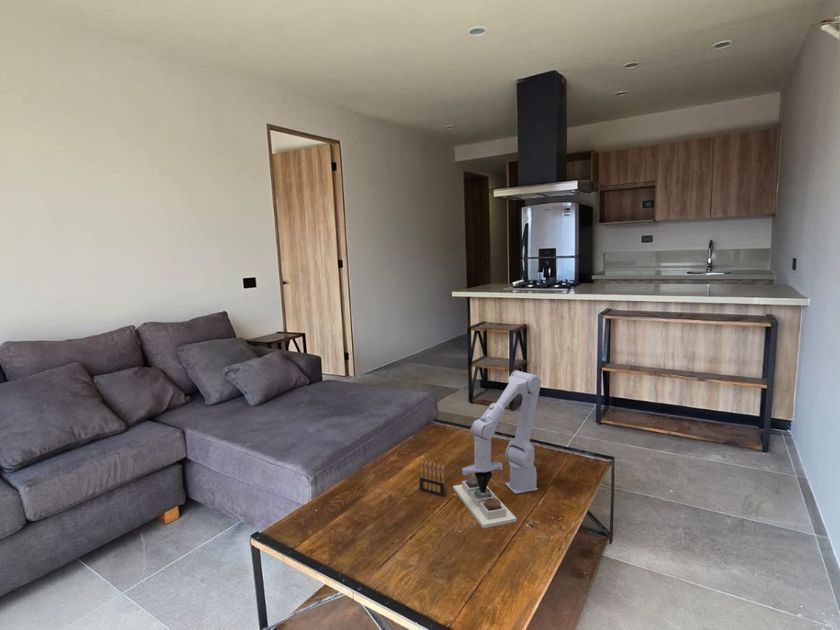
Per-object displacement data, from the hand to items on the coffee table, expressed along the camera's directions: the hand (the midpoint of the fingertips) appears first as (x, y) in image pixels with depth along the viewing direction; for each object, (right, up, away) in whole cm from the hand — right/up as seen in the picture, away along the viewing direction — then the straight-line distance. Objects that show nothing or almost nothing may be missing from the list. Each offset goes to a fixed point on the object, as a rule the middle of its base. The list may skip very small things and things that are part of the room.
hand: (482, 491), depth 164 cm
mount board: (0, -5, +1) cm, 5 cm away
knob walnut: (+2, -5, -7) cm, 9 cm away
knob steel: (0, -4, +1) cm, 4 cm away
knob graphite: (-2, -3, +8) cm, 9 cm away
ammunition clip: (-17, -4, +9) cm, 20 cm away
